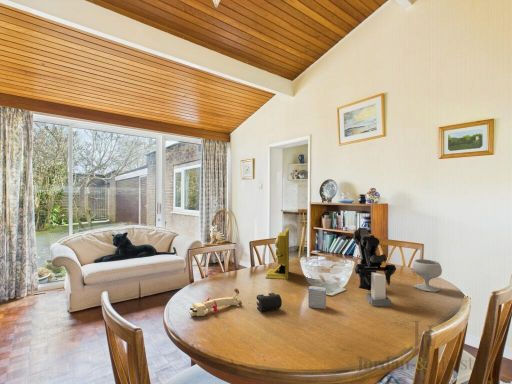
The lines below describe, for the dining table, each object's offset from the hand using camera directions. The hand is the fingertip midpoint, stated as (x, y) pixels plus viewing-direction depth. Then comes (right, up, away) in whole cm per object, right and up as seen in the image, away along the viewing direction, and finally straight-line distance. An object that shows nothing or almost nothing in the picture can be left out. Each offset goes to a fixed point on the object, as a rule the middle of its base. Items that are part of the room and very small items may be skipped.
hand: (379, 285), depth 135 cm
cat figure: (-78, -9, -8) cm, 79 cm away
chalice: (+36, -9, +22) cm, 43 cm away
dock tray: (0, -9, +1) cm, 9 cm away
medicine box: (-31, -9, -4) cm, 32 cm away
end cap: (-54, -9, -7) cm, 55 cm away
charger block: (0, -8, +2) cm, 8 cm away
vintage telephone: (-46, -9, +47) cm, 66 cm away
